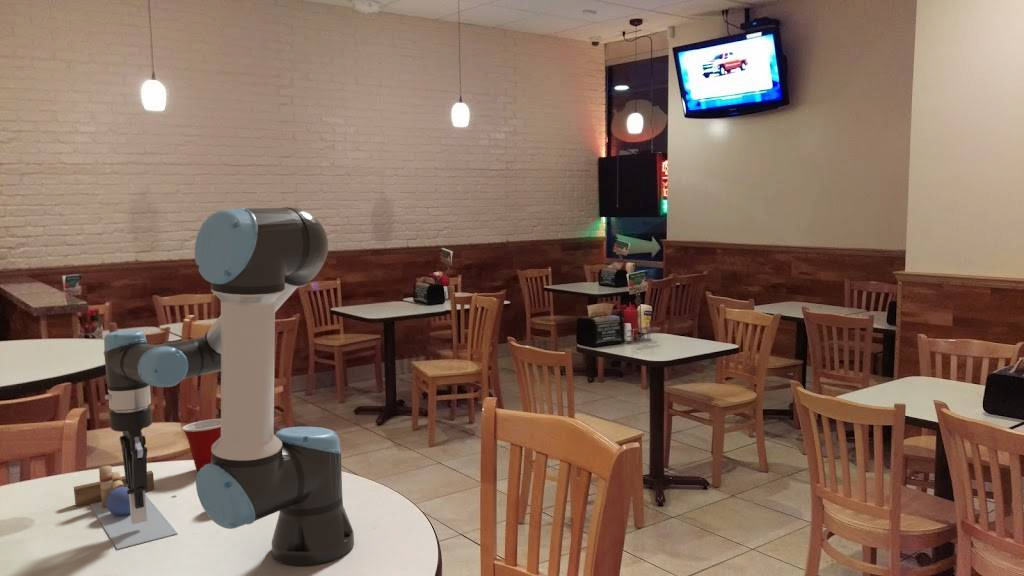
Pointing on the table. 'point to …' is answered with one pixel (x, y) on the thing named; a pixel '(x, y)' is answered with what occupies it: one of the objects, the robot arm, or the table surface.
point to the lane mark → (133, 526)
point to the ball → (119, 501)
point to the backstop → (93, 491)
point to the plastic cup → (202, 440)
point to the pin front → (117, 480)
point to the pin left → (105, 483)
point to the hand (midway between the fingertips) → (139, 521)
